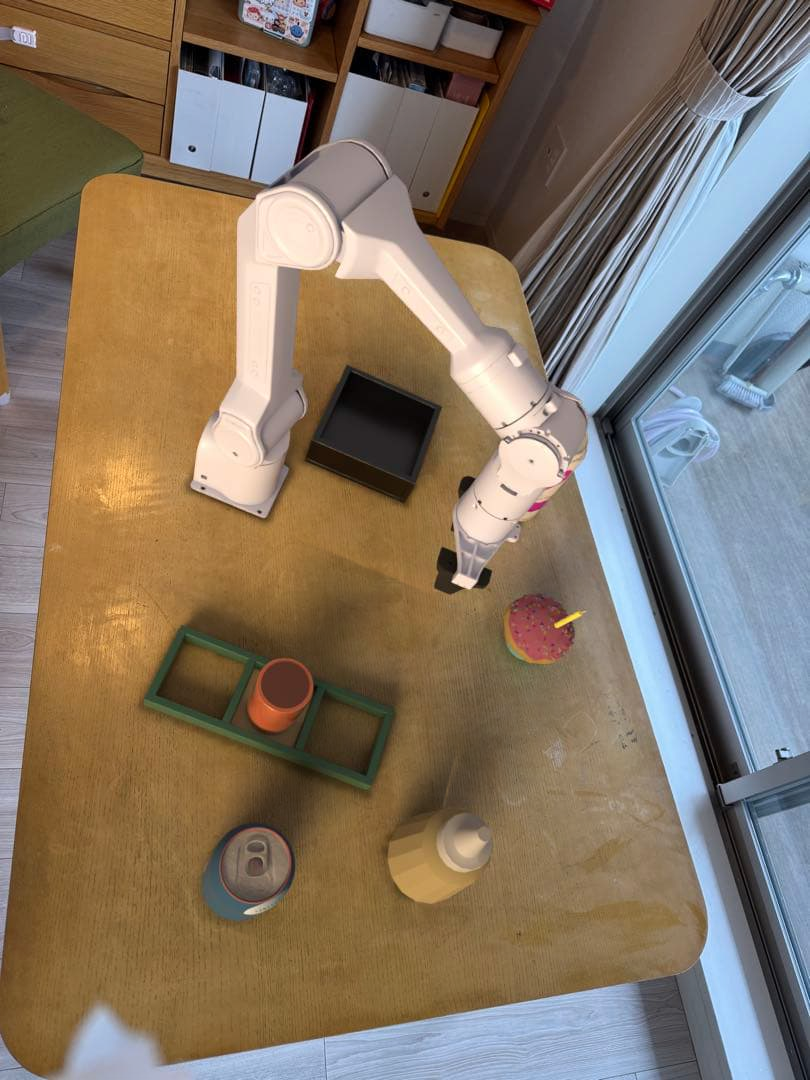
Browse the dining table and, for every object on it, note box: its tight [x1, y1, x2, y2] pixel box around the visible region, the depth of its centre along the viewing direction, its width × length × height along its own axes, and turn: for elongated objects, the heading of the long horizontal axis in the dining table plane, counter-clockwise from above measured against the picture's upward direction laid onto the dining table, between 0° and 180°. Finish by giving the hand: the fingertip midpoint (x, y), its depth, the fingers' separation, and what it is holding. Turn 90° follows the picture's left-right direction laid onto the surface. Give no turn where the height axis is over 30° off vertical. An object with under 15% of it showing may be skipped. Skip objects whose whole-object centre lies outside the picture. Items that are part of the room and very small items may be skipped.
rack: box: [143, 624, 396, 791], centre depth 79 cm, size 8×24×2 cm, turn 73°
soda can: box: [200, 822, 296, 922], centre depth 67 cm, size 7×7×12 cm
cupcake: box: [503, 593, 588, 665], centre depth 88 cm, size 9×8×12 cm
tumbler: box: [246, 657, 314, 735], centre depth 76 cm, size 5×5×8 cm
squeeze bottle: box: [386, 806, 494, 905], centre depth 70 cm, size 8×8×18 cm
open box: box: [304, 363, 443, 504], centre depth 99 cm, size 14×14×5 cm
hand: (451, 559), depth 84 cm, fingers open, 7 cm apart
